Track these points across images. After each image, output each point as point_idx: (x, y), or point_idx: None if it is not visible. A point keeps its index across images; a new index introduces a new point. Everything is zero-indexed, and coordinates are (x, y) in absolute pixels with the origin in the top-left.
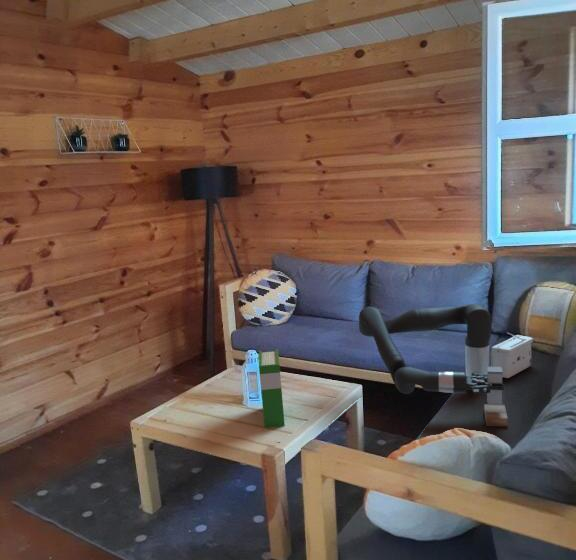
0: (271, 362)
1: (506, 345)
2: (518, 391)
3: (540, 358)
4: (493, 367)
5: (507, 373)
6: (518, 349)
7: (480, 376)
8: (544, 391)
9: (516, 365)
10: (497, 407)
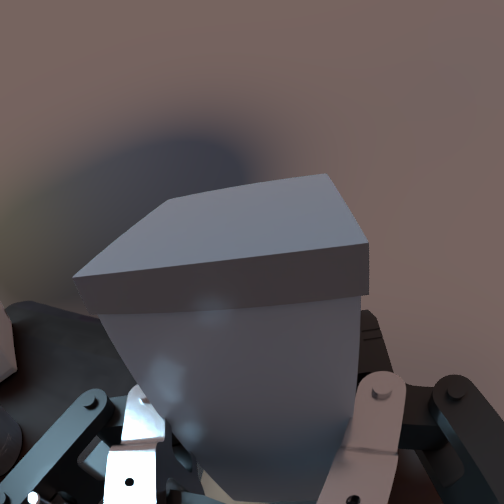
0: None
1: None
2: (80, 371)
3: (6, 308)
4: (152, 226)
5: (8, 359)
6: None
7: (127, 485)
8: None
9: (3, 331)
10: None
